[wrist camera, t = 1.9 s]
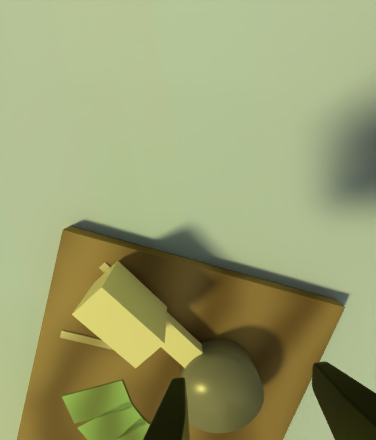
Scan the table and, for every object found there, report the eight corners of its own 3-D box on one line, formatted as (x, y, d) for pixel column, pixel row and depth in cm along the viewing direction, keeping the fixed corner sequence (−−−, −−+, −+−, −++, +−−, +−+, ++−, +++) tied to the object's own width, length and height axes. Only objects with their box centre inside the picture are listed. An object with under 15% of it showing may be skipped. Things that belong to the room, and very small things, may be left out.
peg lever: (269, 372, 21) (291, 422, 17) (213, 415, 21) (222, 473, 17) (136, 243, 18) (124, 265, 14) (77, 297, 19) (50, 334, 15)
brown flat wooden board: (335, 299, 21) (345, 308, 20) (251, 483, 25) (255, 500, 24) (69, 225, 19) (62, 230, 18) (21, 440, 23) (12, 456, 21)
